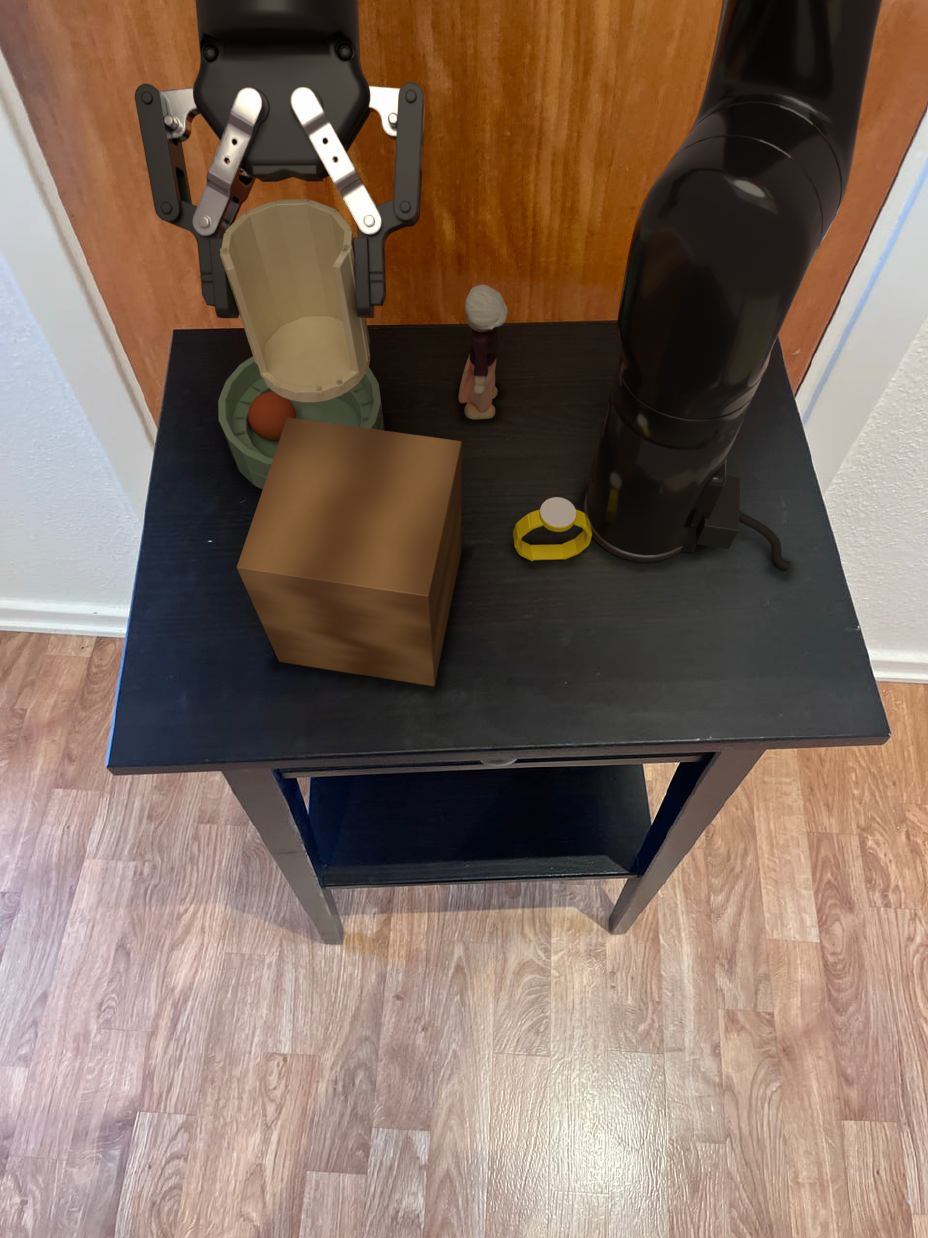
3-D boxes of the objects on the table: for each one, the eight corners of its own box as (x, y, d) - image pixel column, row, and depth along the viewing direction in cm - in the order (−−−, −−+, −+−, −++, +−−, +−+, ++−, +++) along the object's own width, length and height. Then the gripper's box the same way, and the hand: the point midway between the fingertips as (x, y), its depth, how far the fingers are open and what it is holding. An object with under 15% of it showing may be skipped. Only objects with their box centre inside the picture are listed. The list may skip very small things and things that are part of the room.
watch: (513, 571, 69) (518, 530, 64) (510, 541, 70) (514, 499, 65) (587, 566, 69) (598, 524, 64) (582, 536, 70) (592, 494, 65)
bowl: (398, 392, 77) (394, 351, 73) (366, 512, 71) (360, 476, 67) (256, 373, 78) (244, 332, 74) (213, 490, 72) (197, 453, 68)
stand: (461, 551, 70) (461, 440, 57) (434, 686, 64) (428, 596, 52) (317, 530, 71) (286, 416, 58) (278, 662, 65) (236, 567, 53)
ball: (278, 377, 71) (309, 404, 74) (243, 388, 73) (274, 414, 76) (270, 418, 69) (301, 444, 73) (233, 428, 71) (266, 453, 75)
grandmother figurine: (456, 373, 78) (456, 257, 67) (498, 372, 79) (505, 256, 67) (460, 440, 75) (460, 330, 64) (504, 438, 75) (511, 328, 64)
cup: (373, 317, 51) (355, 197, 44) (369, 402, 48) (348, 287, 41) (264, 320, 51) (228, 200, 44) (252, 404, 48) (212, 290, 41)
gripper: (83, -105, 36) (132, 316, 41) (426, -108, 36) (433, 314, 41) (147, -30, 43) (182, 321, 48) (432, -33, 43) (438, 319, 48)
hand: (297, 316), depth 45 cm, fingers closed on cup, 6 cm apart
